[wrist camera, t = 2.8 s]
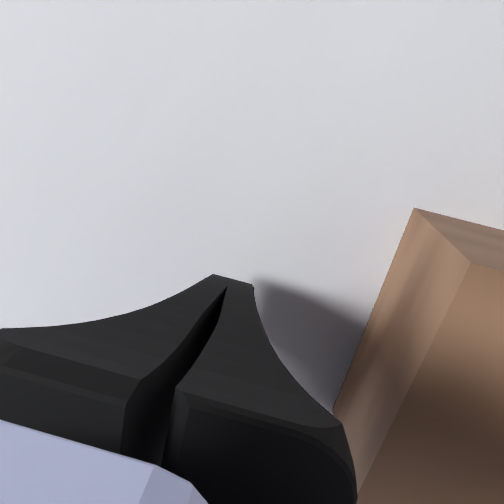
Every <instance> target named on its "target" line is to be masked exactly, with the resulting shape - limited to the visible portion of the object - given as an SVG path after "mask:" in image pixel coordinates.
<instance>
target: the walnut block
mask: <svg viewBox="0 0 504 504" xmlns="http://www.w3.org/2000/svg"><path fill="white" fill-rule="evenodd" d="M333 414H334V417H335V418H337V419H338V420H339V421H340V422H341V423H342V424H343V427H344V430H345V433H346V437H347V440H348V444H349V447H350V451H351V455H352V459H353V463H354V468H355V474H356V482H357V495H358V499H357V503H356V504H504V231H503V230H499V229H495V228H491V227H487V226H483V225H480V224H476V223H472V222H468V221H464V220H460V219H456V218H452V217H448V216H444V215H440V214H437V213H433V212H429V211H425V210H421V209H417V208H414V209H413V211H412V214H411V216H410V219H409V221H408V224H407V226H406V229H405V231H404V233H403V236H402V238H401V241H400V243H399V246H398V248H397V251H396V253H395V256H394V258H393V261H392V263H391V266H390V268H389V271H388V273H387V276H386V278H385V281H384V283H383V286H382V288H381V291H380V293H379V296H378V298H377V300H376V303H375V305H374V308H373V310H372V313H371V315H370V318H369V320H368V323H367V325H366V328H365V330H364V333H363V335H362V338H361V340H360V343H359V345H358V348H357V350H356V353H355V355H354V358H353V360H352V363H351V365H350V367H349V370H348V372H347V375H346V377H345V380H344V382H343V385H342V387H341V390H340V392H339V395H338V397H337V400H336V402H335V405H334V407H333Z"/></svg>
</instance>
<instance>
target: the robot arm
mask: <svg viewBox="0 0 504 504" xmlns="http://www.w3.org/2000/svg"><path fill="white" fill-rule="evenodd" d="M357 499H358V495H357V482H356V474H355V468H354V463H353V459H352V455H351V451H350V447H349V444H348V440H347V437H346V433H345V430H344V427H343V424H342V423H341V422H340V421H339V420H338V419H337V418H335V417H334V416H333V415H332V414H331V413H330V412H328V411H327V410H326V409H325V408H324V407H322V406H321V405H320V404H319V403H318V402H316V401H315V400H314V399H313V398H312V397H311V396H310V395H309V394H308V393H307V392H306V391H305V390H304V389H303V388H302V387H301V385H300V384H299V383H298V382H297V381H296V380H295V379H294V378H293V376H292V375H291V374H290V373H289V371H288V370H287V369H286V367H285V366H284V365H283V363H282V362H281V361H280V359H279V358H278V356H277V354H276V353H275V351H274V349H273V347H272V345H271V344H270V342H269V339H268V337H267V335H266V333H265V330H264V328H263V326H262V323H261V320H260V317H259V314H258V311H257V307H256V303H255V297H254V287H253V286H252V284H249V283H245V282H241V281H238V280H234V279H230V278H226V277H222V276H219V275H215V274H212V275H211V276H209V277H207V278H205V279H203V280H202V281H200V282H198V283H196V284H195V285H193V286H191V287H190V288H188V289H186V290H184V291H182V292H180V293H178V294H176V295H174V296H172V297H170V298H167V299H165V300H163V301H161V302H159V303H156V304H154V305H151V306H148V307H146V308H143V309H140V310H136V311H133V312H130V313H126V314H123V315H118V316H114V317H109V318H105V319H100V320H96V321H90V322H84V323H77V324H69V325H60V326H49V327H29V328H2V329H0V504H356V503H357Z"/></svg>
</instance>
